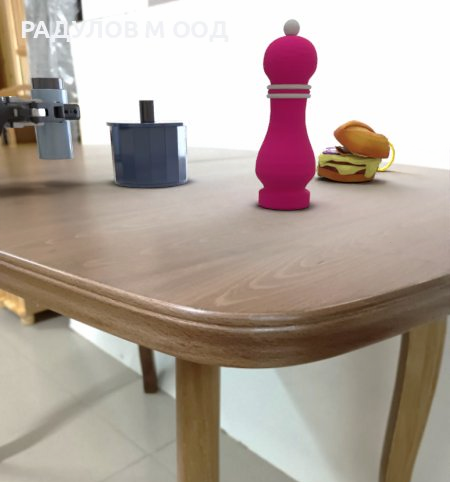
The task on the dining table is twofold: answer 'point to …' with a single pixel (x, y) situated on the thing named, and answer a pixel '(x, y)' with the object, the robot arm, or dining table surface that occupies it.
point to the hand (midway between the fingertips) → (65, 111)
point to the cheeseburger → (353, 154)
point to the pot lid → (147, 118)
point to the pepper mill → (287, 123)
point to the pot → (149, 156)
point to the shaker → (52, 134)
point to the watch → (390, 160)
